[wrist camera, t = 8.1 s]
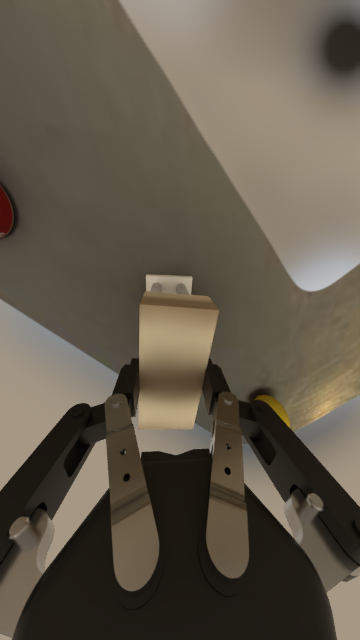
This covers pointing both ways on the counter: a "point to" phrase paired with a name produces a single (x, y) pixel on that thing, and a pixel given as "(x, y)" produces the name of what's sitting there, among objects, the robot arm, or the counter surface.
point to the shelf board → (173, 357)
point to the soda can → (5, 213)
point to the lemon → (275, 407)
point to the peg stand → (169, 284)
